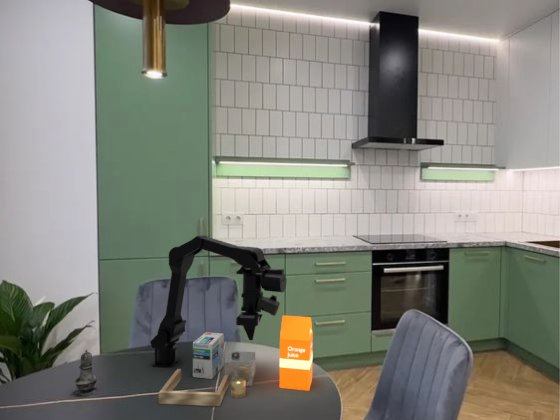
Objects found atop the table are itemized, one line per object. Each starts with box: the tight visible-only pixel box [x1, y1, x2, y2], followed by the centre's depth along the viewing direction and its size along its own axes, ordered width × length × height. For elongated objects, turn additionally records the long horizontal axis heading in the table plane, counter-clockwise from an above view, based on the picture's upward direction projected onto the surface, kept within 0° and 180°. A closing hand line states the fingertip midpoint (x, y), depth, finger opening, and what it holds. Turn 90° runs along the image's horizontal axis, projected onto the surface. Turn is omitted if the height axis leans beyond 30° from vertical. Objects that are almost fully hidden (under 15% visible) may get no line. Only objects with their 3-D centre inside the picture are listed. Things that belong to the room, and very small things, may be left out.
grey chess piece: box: [74, 349, 99, 397], centre depth 107 cm, size 6×6×12 cm
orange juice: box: [279, 315, 314, 391], centre depth 113 cm, size 8×9×20 cm
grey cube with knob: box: [224, 350, 257, 387], centre depth 116 cm, size 8×8×8 cm
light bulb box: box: [192, 331, 225, 380], centre depth 121 cm, size 11×7×11 cm, turn 168°
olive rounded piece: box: [230, 377, 247, 399], centre depth 107 cm, size 4×4×4 cm
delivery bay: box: [158, 368, 230, 407], centre depth 108 cm, size 16×15×3 cm
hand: (251, 339), depth 117 cm, fingers closed
